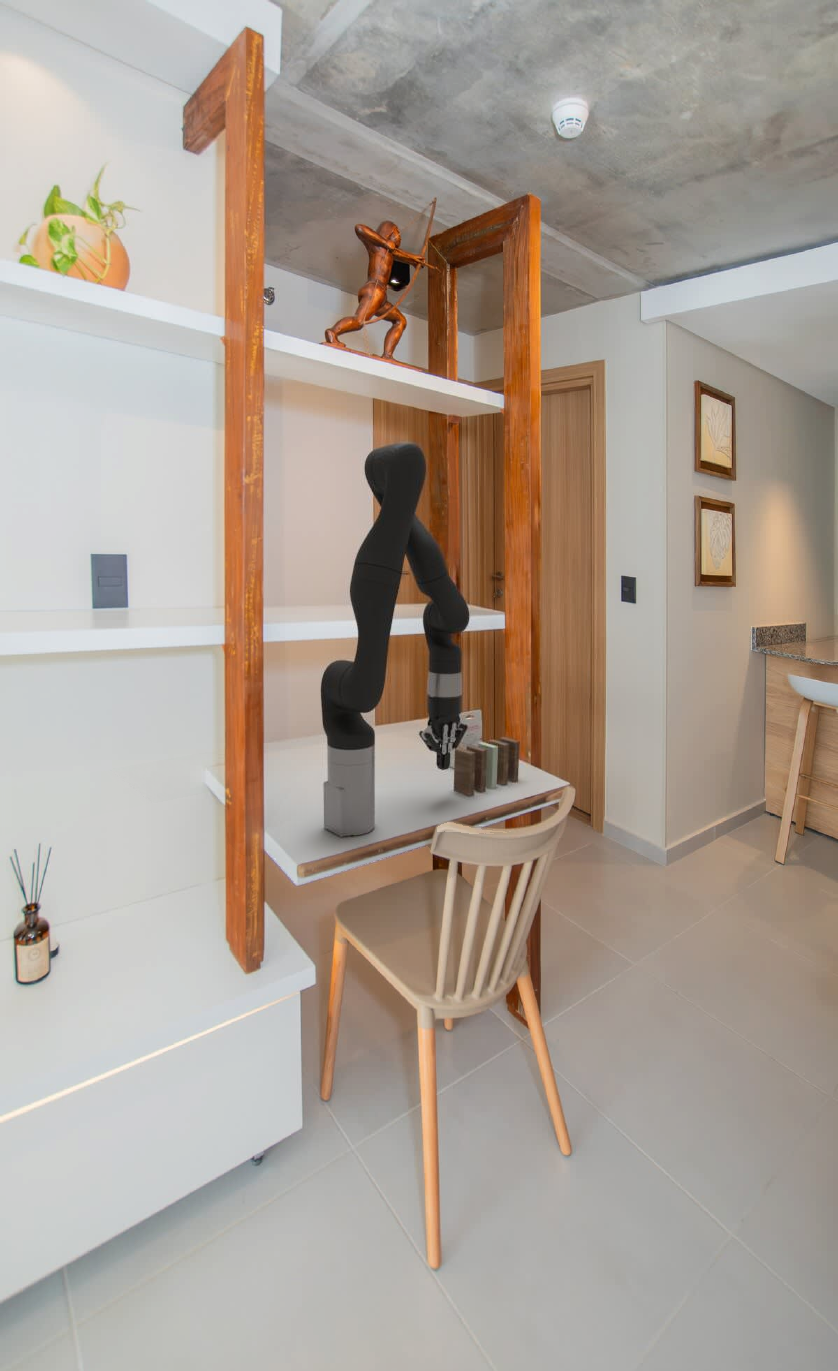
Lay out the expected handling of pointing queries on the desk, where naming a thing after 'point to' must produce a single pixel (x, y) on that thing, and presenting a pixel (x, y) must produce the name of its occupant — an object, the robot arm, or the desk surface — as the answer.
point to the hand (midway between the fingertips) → (443, 768)
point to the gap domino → (490, 764)
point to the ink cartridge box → (469, 732)
